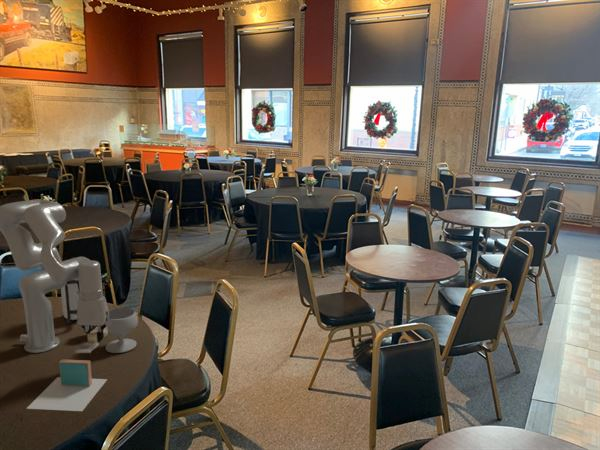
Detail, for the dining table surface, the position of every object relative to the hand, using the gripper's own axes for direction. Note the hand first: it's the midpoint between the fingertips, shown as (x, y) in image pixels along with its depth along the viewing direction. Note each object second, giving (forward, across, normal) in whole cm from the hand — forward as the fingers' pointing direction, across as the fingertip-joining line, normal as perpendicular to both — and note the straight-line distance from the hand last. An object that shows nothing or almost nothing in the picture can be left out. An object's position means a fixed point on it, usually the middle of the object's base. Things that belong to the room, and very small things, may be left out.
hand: (95, 340), depth 167 cm
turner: (0, 0, -2) cm, 2 cm away
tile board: (+11, -1, -19) cm, 22 cm away
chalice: (+11, +2, +16) cm, 19 cm away
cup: (+11, -14, +24) cm, 30 cm away
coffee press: (+10, -28, +40) cm, 50 cm away
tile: (+10, -1, -14) cm, 17 cm away
